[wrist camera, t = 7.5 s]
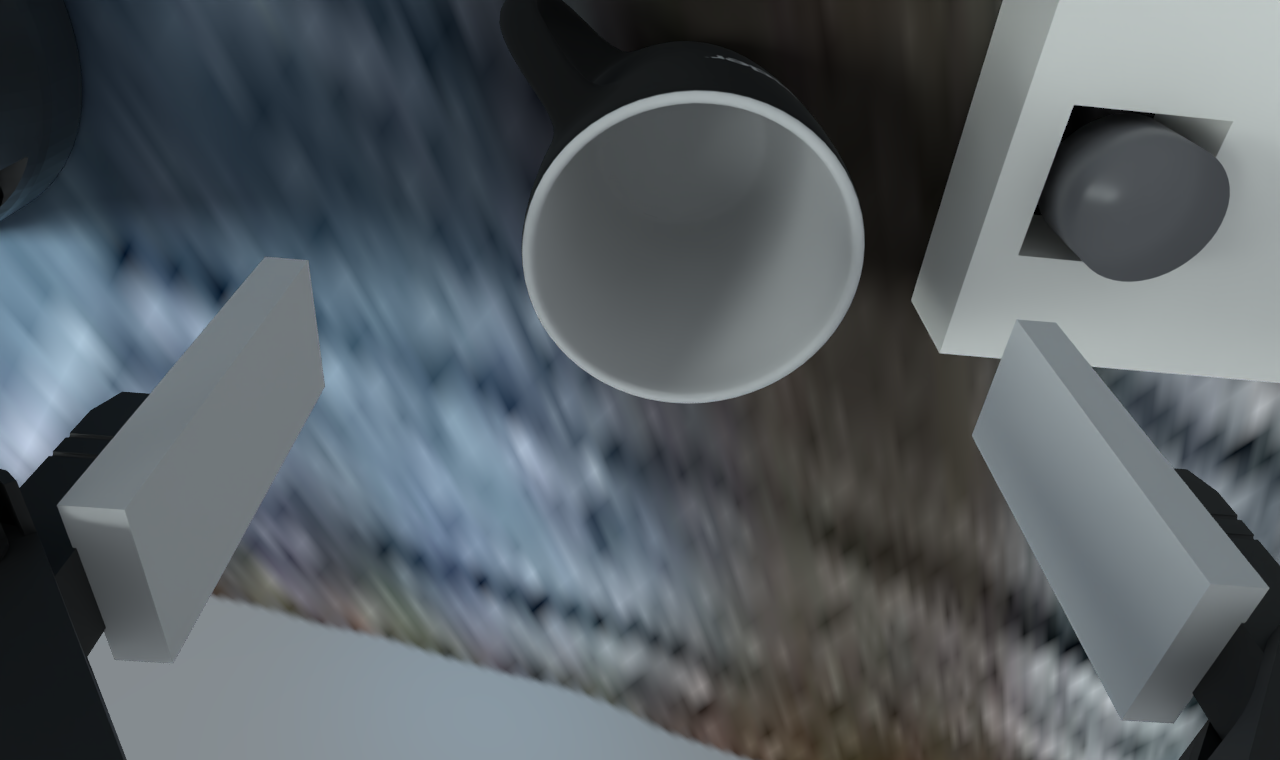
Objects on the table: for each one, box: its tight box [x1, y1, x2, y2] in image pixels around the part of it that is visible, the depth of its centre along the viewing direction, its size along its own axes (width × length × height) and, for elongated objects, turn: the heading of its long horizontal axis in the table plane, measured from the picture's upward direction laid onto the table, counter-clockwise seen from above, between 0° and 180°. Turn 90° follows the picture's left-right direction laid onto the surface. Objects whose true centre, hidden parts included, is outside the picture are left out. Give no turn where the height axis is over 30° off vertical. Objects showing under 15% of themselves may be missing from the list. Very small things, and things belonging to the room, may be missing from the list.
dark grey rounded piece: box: [1038, 113, 1230, 282], centre depth 27 cm, size 4×4×3 cm
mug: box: [500, 0, 865, 403], centre depth 26 cm, size 12×9×10 cm
